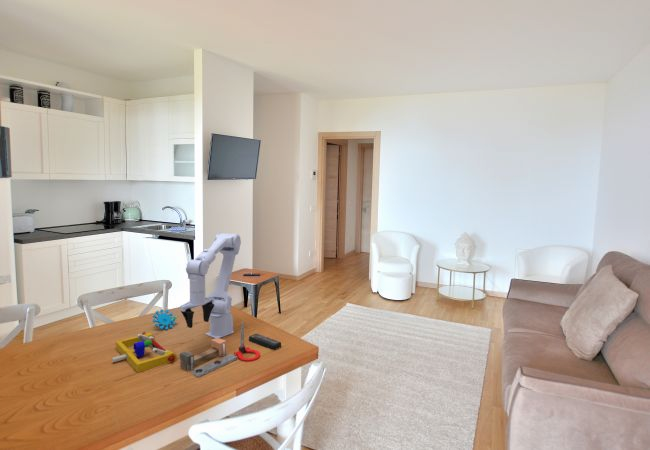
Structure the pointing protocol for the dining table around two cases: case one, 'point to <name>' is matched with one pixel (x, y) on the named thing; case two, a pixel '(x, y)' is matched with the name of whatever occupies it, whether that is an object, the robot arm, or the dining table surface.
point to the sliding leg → (219, 346)
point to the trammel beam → (196, 358)
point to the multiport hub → (265, 341)
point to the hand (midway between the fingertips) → (198, 324)
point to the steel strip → (214, 365)
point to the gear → (164, 319)
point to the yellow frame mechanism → (139, 349)
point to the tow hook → (245, 349)
